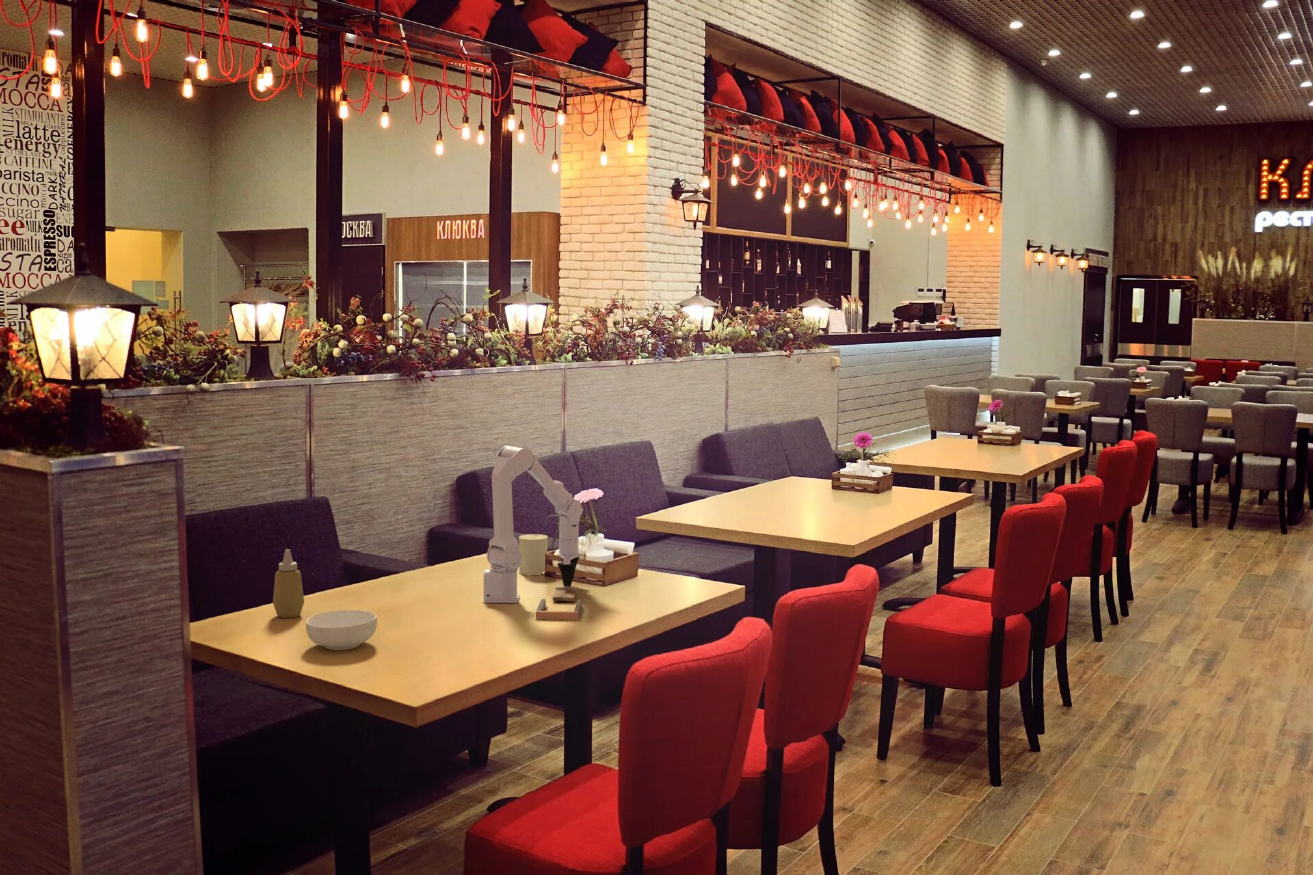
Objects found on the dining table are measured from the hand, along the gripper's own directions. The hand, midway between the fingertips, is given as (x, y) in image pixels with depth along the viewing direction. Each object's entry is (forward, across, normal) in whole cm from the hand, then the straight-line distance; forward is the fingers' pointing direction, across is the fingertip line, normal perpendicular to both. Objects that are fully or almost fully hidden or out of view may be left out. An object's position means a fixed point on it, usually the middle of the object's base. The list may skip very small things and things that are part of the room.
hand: (568, 583), depth 347 cm
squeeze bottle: (+2, -36, +72) cm, 81 cm away
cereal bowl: (+2, -63, +50) cm, 81 cm away
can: (+2, +21, +13) cm, 24 cm away
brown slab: (+2, -12, 0) cm, 13 cm away
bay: (+2, -28, 0) cm, 28 cm away
